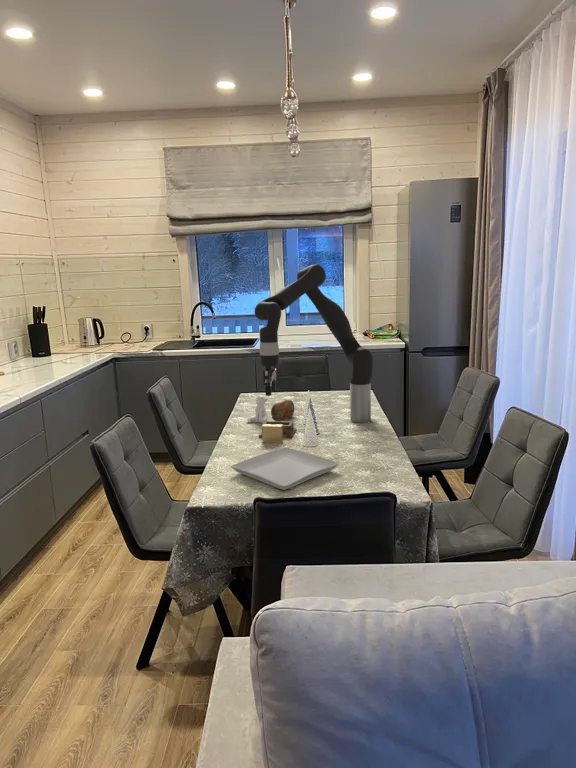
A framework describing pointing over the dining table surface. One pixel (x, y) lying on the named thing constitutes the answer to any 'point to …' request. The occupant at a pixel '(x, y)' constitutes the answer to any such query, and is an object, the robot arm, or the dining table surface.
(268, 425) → the tan wooden block
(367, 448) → the dining table surface
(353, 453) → the dining table surface
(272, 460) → the square plate
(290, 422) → the slotted block
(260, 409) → the sitting furry creature
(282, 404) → the tin
